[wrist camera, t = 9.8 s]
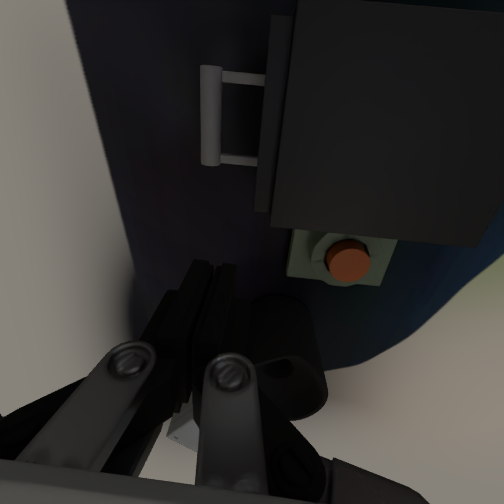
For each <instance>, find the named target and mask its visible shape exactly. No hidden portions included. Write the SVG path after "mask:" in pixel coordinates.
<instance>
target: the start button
mask: <svg viewBox="0 0 504 504" xmlns="http://www.w3.org/2000/svg"><path fill="white" fill-rule="evenodd" d="M326 261H327V264H328V267H329V270H330V273H331V275H332V276H333V277H334V278H335V279H337V280H339V281H342V282H352V281H356V280H358V279H360V278H362V277H363V276H364V275H365V274H366V273H367V272H368V270H369V268H370V258H369V256H368V254H367V253H366V251H365V249H364V248H363V246H362V245H361V244H360V243H358V242H356V241H354V240H342V241H339V242H337V243H335V244H334V245H333V246H331V248H330V249H329V250H328V252H327V256H326Z"/></svg>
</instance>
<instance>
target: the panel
mask: <svg viewBox="0 0 504 504" xmlns="http://www.w3.org/2000/svg"><path fill="white" fill-rule="evenodd" d="M342 240H354V241H356V242H358V243H360V244H361V245H362V246H363V248H364V249H365V251H366V253H367V254H368V256H369V258H370V268H369V270H368V272H367V273H366V274H365V275H364V276H363V277H362V278H360V279H358V280H356V281H352V282H342V281H339V280H337V279H335V278H334V277H333V276H332V275H331V273H330V270H329V267H328V264H327V261H326V256H327V252H328V250H329V249H330V248H331V246H333V245H334V244H335V243H337V242H339V241H342ZM396 243H397V240H395V239H385V238H375V237H366V236H356V235H346V234H337V233H327V232H317V231H308V230H298V229H293V230H292V236H291V242H290V248H289V254H288V259H287V265H286V273H287V276H289V277H298V278H308V279H317V280H323V281H324V282H326V283H328V284H329V285H335V286H345V287H347V286H351V285H354V284H364V285H374V286H380V284H381V281H382V279H383V276H384V274H385V271H386V269H387V266H388V263H389V261H390V258H391V256H392V253H393V251H394V248H395V246H396Z"/></svg>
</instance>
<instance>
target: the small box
mask: <svg viewBox="0 0 504 504" xmlns="http://www.w3.org/2000/svg"><path fill="white" fill-rule="evenodd" d="M166 436H167V437H168V438H170V439H171V440H173V441H175V442H177V443H179V444H181V445H184V446H185V447H187V448H190V449H192V450H194V451H196V452H198V441H199V428H198V426H197V425H196V423H195V421H194V420H193V404H192V392H191V396H190V399H189V402H188V404H187V403H182V406H181V410H180V413H173V416H172V419H171V422H170V426H169V429H168V432H167V435H166Z"/></svg>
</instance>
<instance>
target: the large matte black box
mask: <svg viewBox="0 0 504 504" xmlns="http://www.w3.org/2000/svg"><path fill="white" fill-rule="evenodd" d="M293 16H294V17H295V20H294V29H293V37H292V45H291V53H290V61H289V69H288V77H287V85H286V93H285V101H284V109H283V117H282V125H281V133H280V141H279V150H278V158H277V166H276V174H275V182H274V190H273V198H272V206H271V213H270V227H279V228H288V229H298V230H308V231H317V232H327V233H337V234H346V235H356V236H366V237H375V238H385V239H395V240H404V241H414V242H424V243H434V244H443V245H453V246H463V247H472V248H476V247H477V245H478V244H479V242H480V240H481V238H482V237H483V235H484V233H485V231H486V229H487V228H488V226H489V224H490V222H491V221H492V219H493V217H494V215H495V213H496V212H497V210H498V208H499V206H500V205H501V203H502V201H503V199H504V13H499V12H488V11H477V10H466V9H454V8H443V7H432V6H420V5H409V4H398V3H387V2H375V1H364V0H297V4H296V7H295V11H294V15H293Z"/></svg>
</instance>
